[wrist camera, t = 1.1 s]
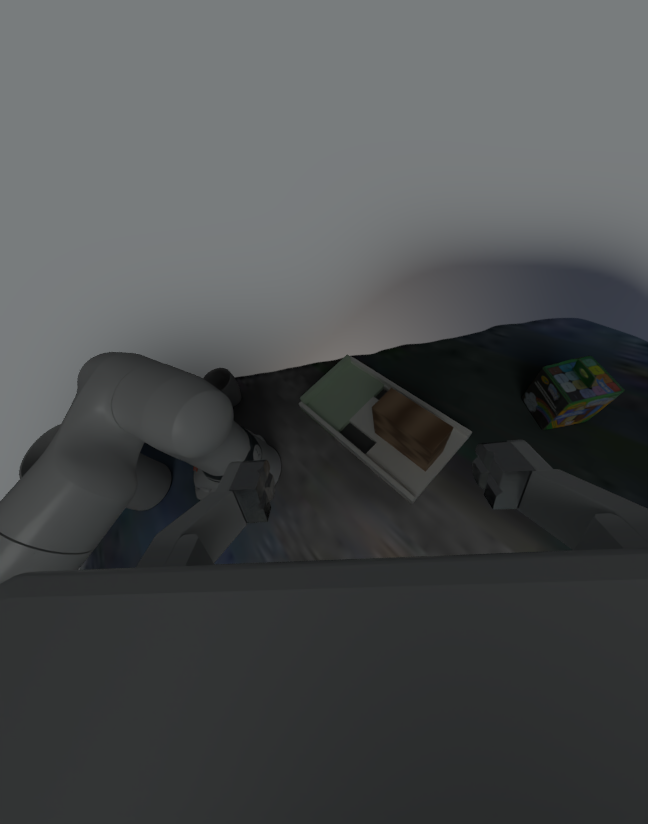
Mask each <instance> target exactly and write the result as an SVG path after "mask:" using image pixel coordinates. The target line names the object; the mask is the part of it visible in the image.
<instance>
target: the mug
mask: <svg viewBox="0 0 648 824" xmlns="http://www.w3.org/2000/svg"><path fill="white" fill-rule="evenodd" d="M203 379H204V380H206V381H207V382H209V383H210V384H212V385H213V386H215V387H216V388H217V389H219V390H220V391H221V392H223V393H224V394H225V395H226V396H227V397H228V398H229V400H230V401H231V403H232V406H233V407H234V406H236V405H238V404H239V403H240V401H241V398H242V397H241V392H240V388H239V385H238V383H237V381H236V379H235V378H234V376H233V375H232V374H231V373H230V372H229V371H228V370H227V369H224V368H217V369H214V370H212V371H210V372H209V373H208V374H206V376H205V377H204V378H203Z"/></svg>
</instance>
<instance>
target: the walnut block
mask: <svg viewBox="0 0 648 824" xmlns="http://www.w3.org/2000/svg"><path fill="white" fill-rule="evenodd" d="M372 414H373V422H374V430H375V433H376V434H377V435H378V436H380V437H381V438H382V439H384V440H385V441H386V442H388V443H389V444H390V445H391V446H393V447H394V448H395V449H397V450H398V451H399V452H400V453H402V454H403V455H404V456H406V457H407V458H408V459H410V460H411V461H412V462H413V463H415V464H416V465H417V466H419V467H420V468H421V469H423V470H424V471H425V472H426V471H427V470H428V468H429V467H430V466H431V465H432V464H433V463H434V461H435V460H436V459H437V458H438V457H439V456H440V455H441V453H442V452H443V450H444V448H445V446H446V444H447V441H448V439H449V437H450V435H451V432H452V430H453V428H454V427H452V426H451V425H449V424H448V423H446V422H445V421H443V420H441V419H440V418H438V417H437V416H435V415H434V414H432V413H430V412H429V411H427V410H426V409H424V408H423V407H421V406H419V405H418V404H416V403H415V402H413V401H412V400H410V399H409V398H407V397H405V396H404V395H402V394H401V393H399V392H398V391H396V390H394V389H393V388H390V389H389V390H388V391H387V392H386V393H385V394H384V395H383V396H382V397H381V398H380V399H379V400H378V401H377V402H376V403H375V404H374V405H373V406H372Z"/></svg>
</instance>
